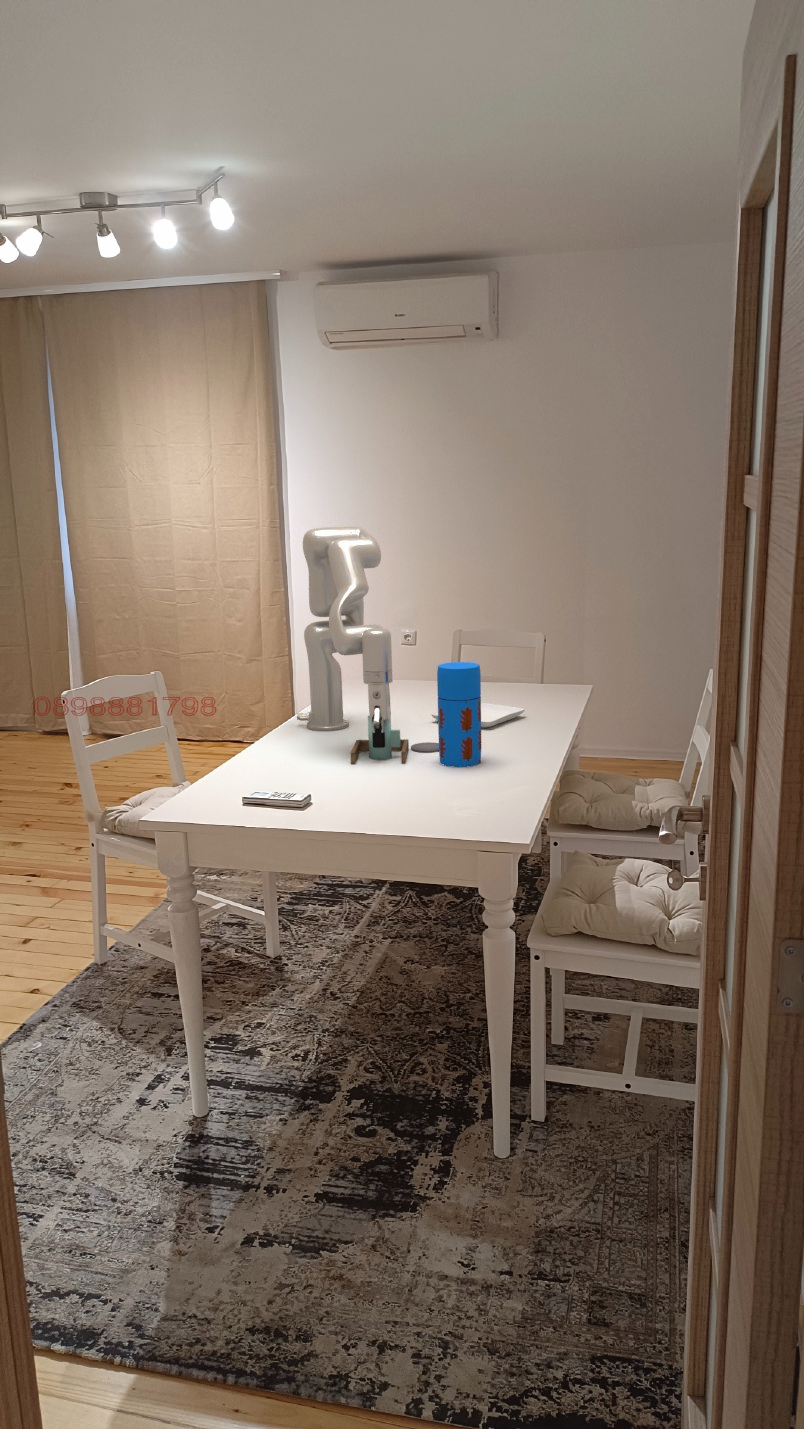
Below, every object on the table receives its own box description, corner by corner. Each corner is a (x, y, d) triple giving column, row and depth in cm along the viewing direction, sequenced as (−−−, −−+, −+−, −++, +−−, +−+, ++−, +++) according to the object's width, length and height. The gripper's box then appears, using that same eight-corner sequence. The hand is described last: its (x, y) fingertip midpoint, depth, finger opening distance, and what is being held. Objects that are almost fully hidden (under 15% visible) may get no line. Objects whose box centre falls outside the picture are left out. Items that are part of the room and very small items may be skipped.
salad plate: (489, 732, 297) (489, 720, 296) (429, 724, 310) (429, 713, 309) (526, 718, 313) (526, 707, 313) (468, 711, 326) (468, 700, 325)
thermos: (486, 757, 267) (485, 662, 262) (475, 768, 257) (474, 669, 252) (446, 755, 271) (444, 661, 265) (433, 766, 261) (431, 668, 255)
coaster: (409, 752, 275) (409, 750, 274) (411, 744, 283) (411, 742, 283) (443, 752, 274) (443, 750, 274) (444, 744, 283) (444, 742, 283)
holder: (351, 764, 265) (350, 752, 264) (356, 750, 278) (356, 739, 278) (405, 763, 264) (405, 752, 263) (408, 750, 278) (408, 739, 277)
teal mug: (368, 760, 268) (366, 718, 266) (370, 754, 274) (368, 713, 272) (399, 759, 268) (398, 718, 266) (401, 753, 274) (400, 713, 271)
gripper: (389, 682, 258) (392, 752, 262) (394, 670, 275) (396, 736, 279) (359, 682, 259) (362, 752, 262) (366, 671, 275) (369, 736, 279)
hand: (380, 743), depth 270 cm, fingers closed on teal mug, 6 cm apart
